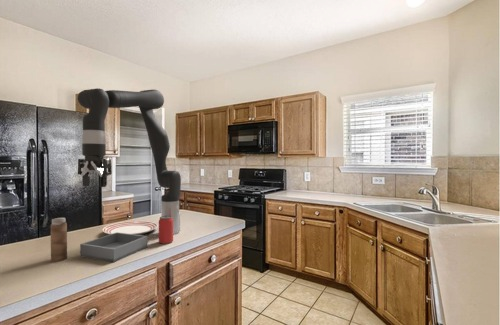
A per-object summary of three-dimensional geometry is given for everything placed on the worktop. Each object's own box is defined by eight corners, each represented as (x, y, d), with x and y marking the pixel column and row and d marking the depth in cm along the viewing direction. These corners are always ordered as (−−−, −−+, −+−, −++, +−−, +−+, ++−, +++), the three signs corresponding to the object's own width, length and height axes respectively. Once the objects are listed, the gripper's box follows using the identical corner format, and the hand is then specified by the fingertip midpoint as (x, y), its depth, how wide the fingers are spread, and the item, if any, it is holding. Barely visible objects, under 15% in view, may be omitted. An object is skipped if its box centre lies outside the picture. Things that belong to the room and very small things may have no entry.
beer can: (174, 239, 127) (174, 215, 127) (171, 244, 120) (171, 218, 120) (161, 239, 127) (161, 215, 127) (156, 244, 120) (156, 218, 120)
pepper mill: (61, 256, 106) (60, 217, 106) (70, 257, 104) (69, 218, 104) (47, 260, 101) (47, 219, 101) (56, 262, 99) (56, 220, 99)
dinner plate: (166, 226, 153) (166, 220, 153) (142, 240, 126) (142, 234, 126) (122, 225, 156) (122, 219, 156) (89, 239, 129) (89, 232, 129)
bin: (116, 242, 122) (116, 232, 122) (147, 247, 116) (147, 236, 116) (80, 256, 105) (80, 244, 105) (114, 262, 99) (113, 249, 99)
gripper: (117, 143, 98) (117, 186, 98) (89, 144, 103) (89, 185, 103) (99, 142, 91) (99, 188, 91) (70, 143, 95) (71, 186, 96)
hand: (94, 186), depth 97 cm, fingers open, 8 cm apart
